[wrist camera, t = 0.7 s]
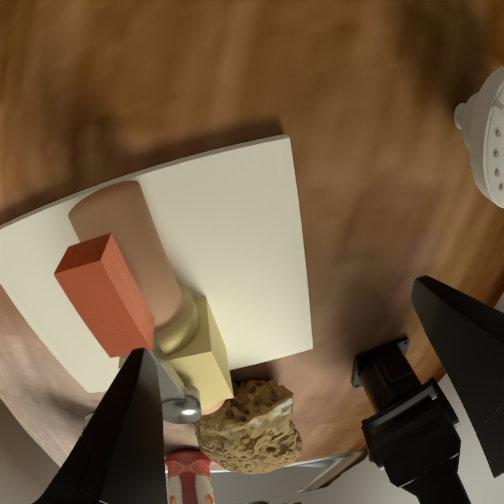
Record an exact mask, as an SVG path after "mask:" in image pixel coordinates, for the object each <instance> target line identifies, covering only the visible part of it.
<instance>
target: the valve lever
mask: <svg viewBox="0 0 504 504" xmlns="http://www.w3.org/2000/svg"><path fill="white" fill-rule="evenodd" d="M54 276H55V278H56V279H57V281H58V283H59V284H60V286H61V288H62V289H63V291H64V292H65V294H66V296H67V297H68V299H69V300H70V302H71V303H72V305H73V307H74V308H75V310H76V311H77V313H78V314H79V316H80V317H81V319H82V320H83V321H84V323H85V324H86V326H87V327H88V329H89V330H90V331H91V333H92V334H93V336H94V337H95V338H96V340H97V341H98V342H99V344H100V345H101V346H102V348H103V349H104V350H105V352H106V353H107V354H108V356H109V357H110V358H114V357H120V356H122V357H123V358H124V359H125V360H126V359H127V357H128V356H129V354H130V353H131V351H132V350H133V349H135V348H141V347H145V348H146V349H147V350H148V351H149V353H150V355H151V356H152V358H153V359H154V361H155V363H156V365H157V369H158V378H159V387H160V395H161V402H162V411H163V420H165V421H167V422H170V423H176V424H187V423H192V422H195V421H197V420H199V419H200V418H201V416H202V412H201V402H200V392H199V390H198V389H197V388H196V387H195V386H193V385H190V384H187V383H183V382H182V381H181V379H180V378H179V376H178V375H177V373H176V372H175V370H174V369H173V367H172V365H171V364H170V362H169V361H168V359H167V358H166V356H165V354H164V353H163V351H162V350H161V348H160V346H159V345H158V343H157V341H156V340H155V338H154V336H153V334H154V321H155V319H154V317H153V315H152V314H151V312H150V310H149V308H148V306H147V304H146V302H145V300H144V298H143V297H142V295H141V293H140V291H139V289H138V287H137V285H136V283H135V281H134V279H133V277H132V275H131V273H130V271H129V269H128V267H127V265H126V262H125V260H124V258H123V256H122V254H121V252H120V250H119V248H118V245H117V243H116V241H115V239H114V237H113V234H112V233H109V234H106V235H102V236H99V237H96V238H93V239H90V240H87V241H83V242H80V243H77V244H74V245H71V246H68V248H67V250H66V252H65V254H64V255H63V257H62V259H61V261H60V263H59V265H58V266H57V268H56V270H55V272H54Z"/></svg>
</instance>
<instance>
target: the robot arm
mask: <svg viewBox="0 0 504 504" xmlns="http://www.w3.org/2000/svg"><path fill="white" fill-rule="evenodd" d="M411 301H412V304H413V306H414V308H415V310H416V313H417V315H418V317H419V319H420V321H421V324H422V326H423V328H424V330H425V333H426V335H427V337H428V339H429V341H430V343H431V345H432V346H433V348H434V350H435V352H436V354H437V355H438V357H439V359H440V361H441V363H442V365H443V367H444V368H445V370H446V372H447V374H448V376H449V378H450V380H451V382H452V384H453V386H454V388H455V390H456V392H457V394H458V396H459V398H460V400H461V402H462V404H463V406H464V408H465V410H466V412H467V415H468V417H469V418H470V421H471V423H472V426H473V428H474V430H475V432H476V435H477V437H478V439H479V442H480V444H481V447H482V449H483V451H484V454H485V456H486V459H487V461H488V464H489V467H490V469H491V472H492V474H493V477H494V478H496V477H498V476H500V475H501V474H503V473H504V313H502V312H500V311H498V310H497V309H495V308H493V307H491V306H489V305H487V304H485V303H483V302H481V301H479V300H477V299H475V298H473V297H471V296H469V295H467V294H465V293H463V292H461V291H459V290H456V289H454V288H452V287H450V286H448V285H446V284H444V283H442V282H440V281H438V280H436V279H433V278H431V277H429V276H427V275H424V276H421V277H418V278H416V279H415V281H414V285H413V290H412V294H411ZM409 342H410V340H409V338H408V337H405V338H403V339H400V340H398V341H395V342H393V343H390V344H388V345H385V346H382V347H380V348H377V349H374V350H372V351H369V352H366V353H363V354H361V355H358V356H357V357H356V359H355V367H354V375H353V383H352V386H353V388H358V387H361V386H363V387H364V390H365V392H366V394H367V396H368V398H369V400H370V403H371V405H372V407H373V409H374V411H375V413H376V414H375V415H373V416H371V417H369V418H368V419H364V420H362V421H361V422H362V425H363V426H362V427H361V428H362V431H363V433H364V436H365V439H366V443H367V450H368V456H369V460H370V462H373V463H375V464H376V465H377V466H378V467H379V469H380V470H382V471H383V470H385V471H386V473H387V475H388V477H389V480H390V482H391V483H392V484H394V485H395V486H397V487H401V488H403V489H404V490H406V491H408V492H410V493H411V494H413V495H415V496H417V498H418V500H419V503H420V504H471V502H470V500H469V497H468V495H467V493H466V491H465V489H464V486H463V484H462V482H461V480H460V478H459V475H458V473H457V471H458V464H459V456H460V445H461V440H460V437H459V435H458V434H457V431H456V430H455V428H457V427H458V426H460V422H459V420H458V417H457V416H456V413H455V412H454V410H453V408H452V407H451V404H450V403H449V401H448V400H447V398H446V396H445V395H444V393H443V392H442V390H441V388H440V387H439V385H438V384H437V382H436V381H435V379H434V378H433V377H432V378H430V379H429V381H427V382H426V383H424V384H423V385H422V384H421V382H420V381H419V379H418V377H417V376H416V374H415V372H414V370H413V369H412V367H411V365H410V364H409V362H408V360H407V359H406V357H405V355H406V352H407V349H408V345H409ZM435 396H436V397H437V398H436V399H434V400H432V398H433V397H435ZM32 504H168V502H167V491H166V476H165V460H164V438H163V411H162V402H161V395H160V387H159V378H158V369H157V365H156V363H155V361H154V359H153V358H152V356H151V355H150V353H149V351H148V350H147V349H146V348H145V347H141V348H135V349H133V350H132V351H131V353H130V354H129V356H128V357H127V359H126V360H125V362H124V364H123V365H122V367H121V369H120V370H119V372H118V373H117V375H116V377H115V378H114V380H113V382H112V383H111V385H110V386H109V388H108V390H107V391H106V393H105V395H104V396H103V398H102V400H101V401H100V403H99V405H98V406H97V408H96V410H95V412H94V413H93V415H92V417H91V418H90V420H89V422H88V424H87V425H86V427H85V429H84V430H83V432H82V436H80V437H79V439H78V441H77V443H76V444H75V446H74V448H73V449H72V451H71V453H70V454H69V456H68V458H67V459H66V461H65V462H64V464H63V465H62V467H61V468H60V470H59V471H58V473H57V474H56V475H55V477H54V478H53V480H52V481H51V483H50V484H49V486H48V487H47V488H46V490H45V492H44V493H43V494H42V495H41V497H40V498H39V499H38V500H36V501H35V502H34V503H32Z"/></svg>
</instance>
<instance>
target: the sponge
mask: <svg viewBox="0 0 504 504" xmlns="http://www.w3.org/2000/svg"><path fill="white" fill-rule="evenodd" d="M232 389H233V395H234V398H230V399H225V401H224V403H223V404H222V406H221V407H220V408H219V409H218V410H216V411H215V412H213V413H210V414H207V415H202V416H201V418H200V419H199V420H197V421H195V424H194V425H195V426H196V433H195V434H196V436H197V441H198V445H199V447H200V449H201V452H203V453H204V454H205V455H206V456H207V457H208V458H209V459H210V460H212V461H214V462H216V463H219V464H220V465H221V466H222V467H224V468H225V469H226V470H229V471H233V472H237V473H243V474H264V473H267V472H271V471H273V470H274V469H279V468H281V467H284V466H287V465H290V464H292V463H294V462H296V460H297V459H298V458H299V457H300V456H301V454H302V441H301V437H300V434H299V433H298V431H297V430H296V429H295V425H294V424H293V423H292V421H291V420H290V419H291V417H292V415H293V393H292V392H291V391H289V390H288V389H287V388H286V387H284V386H283V385H280V386H279V385H278V383H277V382H276V381H274V380H270V381H268V382H265V381H254V380H251V381H247V383H245V382H243V381H242V382H240V387H238V385H237V384H236V383H235V382H234V383H232Z"/></svg>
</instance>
